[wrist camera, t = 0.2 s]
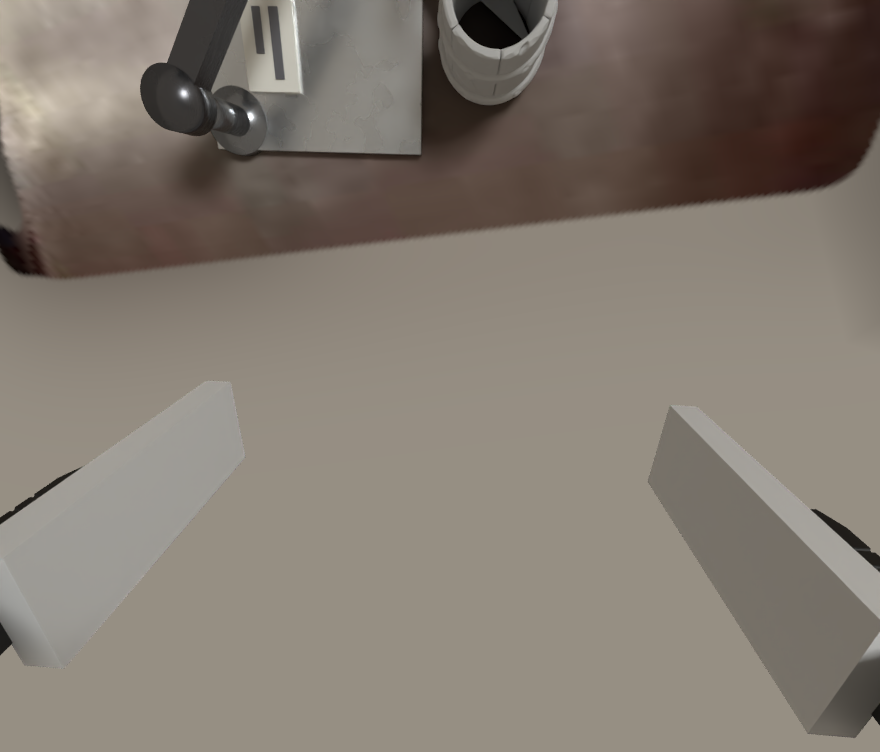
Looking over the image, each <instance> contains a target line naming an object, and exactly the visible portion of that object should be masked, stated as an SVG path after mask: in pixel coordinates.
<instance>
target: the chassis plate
mask: <svg viewBox="0 0 880 752" xmlns="http://www.w3.org/2000/svg"><path fill="white" fill-rule="evenodd" d="M293 5H294V16H295V27H296V38H297V50H298V61H299V72H300V83H301V94H297V93H252V92H250V91H249V84H248V77H247V69H246V62H245V54H244V46H243V39H242V31H241V24H240V21H239V23H238V26H237V28H236V31H235V33H234V36H233V38H232V40H231V43H230V45H229V48H228V50H227V53H226V55H225V57H224V60H223V62H222V65H221V67H220V70H219V72H218V75H217V77H216V79H215V82H214V84H213V87H212V89H211V91H212V93H213V94H214V92H215V91H217V90H218V89H219V88H221V87H224V86H229V85H232V86H238V87H241V88H243V89H245V90H247V91H248V92H250V93H251V94H252V95H253V96H254V97H255V98H256V99H257V100H258V102H259V103H260V105H261V106H262V108H263V111H264V113H265V117H266V122H267V132H266V137H265V140H264V142H263V144H262V145H261V147H260V148H259V149H258V150H260V151H281V152H316V153H351V154H386V155H421V156H422V83H423V0H293ZM217 143H218V142H217ZM218 149H222V150H226V149H225V148H223V147H222V146H221V145H220V144H219V143H218Z"/></svg>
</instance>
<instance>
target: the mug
mask: <svg viewBox="0 0 880 752" xmlns="http://www.w3.org/2000/svg"><path fill="white" fill-rule="evenodd" d="M480 1H482V2H483V3H484V4H485V5H486V6H487V7H488V8H489V9H490V10H491V11H492V12H494V13H495V14H496V15H497V16H498V17H499V18H500V19H501V20H502V21H503V22H504V23H505V24H506V25H508V26H509V27H510V28H511V29H512V30H513V31H514V32H515V33H516V34H517V35H518V36H519V37H520V38H521V39H523V40H522V41H520V42H519V43H517V44H515V45H513V46H510V47H507V48H504V49H501V50H500V49H492V48H487V47H484V46H481V45H479V44H478V43H476V42H474V41H473V40H472V39H471V38H470V37H469V36H468V35H467V34H466V33H465V32H464V31H463V29H462V28H461V26H460V25H459V22H460V20H461V18H462V16H463V15H464V14H465V13H466V11H467V10H468V9H469V8H471V7H472V6H473V5H475V4H476V3H478V2H480ZM557 8H558V1H557V0H439V7H438V9H439V11H438V15H437V22H438V27H439V30H440V38H439V41H438V47H439V51H440V56H441V61H442V66H443V69H444V71H445V74H446V76H447V78H448V80H449V81H450V83H451V84H452V86H453V87H454V88H455V90H456V91H457V92H458V93H459V94H461V95H462V96H463V97H464V98H465V99H467V100H469V101H472V102H474V103H477V104H481V105H496V104H501V103H504V102H506V101H509V100H511V99H512V98H515V97H517V96H518V95H519V94H520V93H521V92H522V91H523V90H524V89H525V88H526V87H527V86H528V84H529V83H530V82H531V80H532V79H533V77H534V76H535V74H536V72H537V70H538V68H539V66H540V64H541V61H542V58H543V54H544V50H545V46H546V44H547V41H548V39H549V37H550V35H551V32H552V28H553V25H554V20H555V16H556V13H557ZM517 9H518V10H519V11H520V13H521V14H522V16H523V17H524V19H525V20H526V24H527V26H528V29H529V33H530V34H529V35H528V33H527V31H526V28H525V26H524V24H523V21H522V19H521V17H520V15H519V12H518V10H517Z"/></svg>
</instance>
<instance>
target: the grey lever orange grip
mask: <svg viewBox="0 0 880 752" xmlns="http://www.w3.org/2000/svg"><path fill="white" fill-rule="evenodd" d="M247 1H248V0H190V1H189V4H188V7H187V9H186V12H185V15H184V18H183V20H182V23H181V26H180V29H179V31H178V34H177V37H176V40H175V42H174V45H173V48H172V51H171V54H170V56H169V59H168V62H167V63H156V64H153V65H151V66H150V67H149V68H147V70H146V71H145V72H144V74H143V76H142V79H141V85H140V92H141V98H142V101H143V104H144V107H145V109H146V111H147V112H148V114H149V115H150V117H151V118H152V119H153V120H154V121H155V122H156V123H157V124H158V125H160V126H161V127H163V128H165V129H168V130H171V131H175V132H179V133H184V134H188V135H192V136H202V135H205V134H207V133H208V132H209V131H211V130H212V128H213V127H214V125H215V122H216V119H217V104H216V100H215V98H214V95H213V93H212V91H211V89H212V87H213V84H214V82H215V79H216V77H217V75H218V72H219V70H220V67H221V65H222V62H223V60H224V57H225V55H226V53H227V50H228V48H229V45H230V43H231V40H232V38H233V36H234V33H235V31H236V28H237V26H238V23H239V21H240V18H241V16H242V14H243V11H244V9H245V6H246V4H247Z"/></svg>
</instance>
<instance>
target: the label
mask: <svg viewBox="0 0 880 752" xmlns="http://www.w3.org/2000/svg"><path fill="white" fill-rule="evenodd" d="M240 24H241V31H242V39H243V46H244V54H245V62H246V69H247V77H248V84H249V91H250V92H252V93H297V94H301V83H300V72H299V61H298V50H297V38H296V27H295V16H294V5H293V0H248V1H247V4H246V6H245V9H244V11H243V14H242V16H241V18H240Z"/></svg>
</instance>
